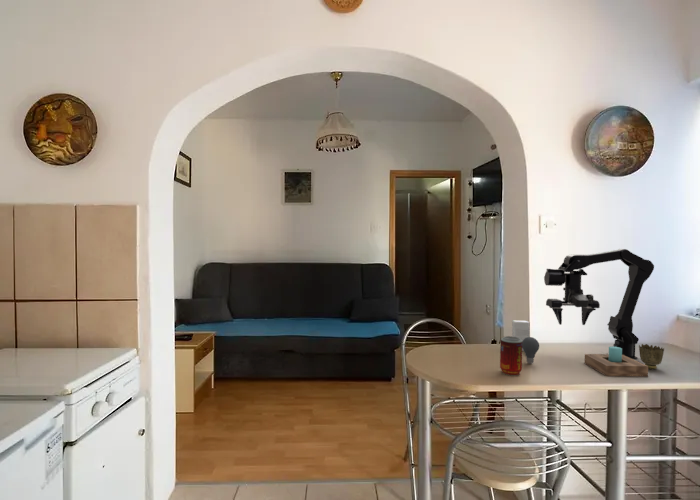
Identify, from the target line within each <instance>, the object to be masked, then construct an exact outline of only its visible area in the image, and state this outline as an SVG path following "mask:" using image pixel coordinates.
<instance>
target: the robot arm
mask: <svg viewBox="0 0 700 500" xmlns="http://www.w3.org/2000/svg"><path fill="white" fill-rule="evenodd" d="M618 260H620V261H621V262H622V263H623V264H624V265H626V266H628V273H627V274H628V283H627V285H626V288H625V292H624V295H623V297H622V301H621V303H620V307H619V310H618V312H617V314H616V315H615V316H613V315H610V317H609V322H608V323H607V326H608V331H609V333H610V334H611V335H612V338H613V339H614V343H613V347H619V348H622V355H624V356H627V357H629V358H631V359H633V360H637V359H638V356H636V345H637V344H638V342H639V338H638V336H636V335H635V334H634V332H633V329H634V324H633V315H634V312H635V310H636V306H637V304H638V300H639V298H640V294H641V291H642V289H643V285H644V284H645V282H646V281H647V280H648V279H649V278H650V277H651V275H652V273H653V271H654V269H655V265H654V263H653V262H652V261H651V260H649V259H645V258H643V257H641V256H639V255H637V254H635V253H634V252H631V251H630V250H628V249H626V248H618V249H616V250H615V249H613V250H609V251H603V252H598V253H591V254H567V255H566V256H565V257H564V259H563V262H562V263H561V265H560V266H559V267H558V268H554V269H553V268H546V271H545V273H544V277H543V279H544V284H545V286H547V287H548V286H554V287H555V286H556V287H559V286H560V287H562V286H563V285H564V287H563V288H562V290H563V291H564V297H562V300H561V299H558V298H547V300H546V301H545V306H547V307H549V308H550V309H552V312H553V313H554V315H555V318H556V320H557V323H558V324H559V325H562V322H563V315H562V314H563V313H562V312H563V310H564V309H563V308H562V307H564V306H565V307H566V306H567V307H568V306H569V307H571V306H572V307H573V306H574V307H576V308H581V324H582V326H585V325H586V323H587V321H588V319H589V316H590V314H591V313H592V312H593V311H596V310H597V309H600V308H601V307H600V301H599V300H596V299H594V294H589V293H588V294H584V290H583V289H582V276H588V273H587V272H586V271H585V270H584V268H587V267H589V266H591V265H595V264H601V263H608V262H614V261H618Z"/></svg>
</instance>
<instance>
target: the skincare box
mask: <svg viewBox="0 0 700 500" xmlns="http://www.w3.org/2000/svg"><path fill="white" fill-rule="evenodd" d="M530 323H531V322H530V321H528V320H518V319H516V320H514V319H512V321H511V336H513V337H517V338H520V339H521V340H522V341H523V340H524V339H525V338H527V337H530ZM522 352H524V350H523V348H522Z"/></svg>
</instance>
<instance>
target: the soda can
mask: <svg viewBox="0 0 700 500" xmlns="http://www.w3.org/2000/svg"><path fill="white" fill-rule="evenodd" d="M499 354H500V355H499V369H500V370H501V373H502V374H503V373H504V375H505V374H506V375H505V376H510V375H511V376H512V377H516V376H520V373H521V371H522V370H523V369H522V367H523V351H522V340H521V339H520V338H517V337H513V336H512V335H510V336H509V335H508V336H507V335H505V336H503V337H502V338H500V352H499Z"/></svg>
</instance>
